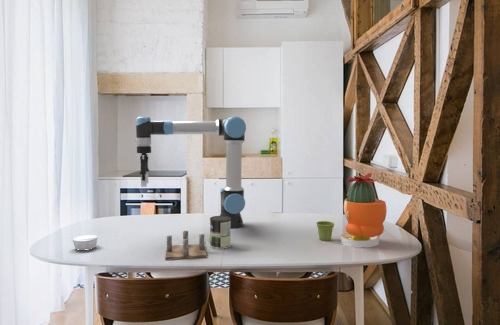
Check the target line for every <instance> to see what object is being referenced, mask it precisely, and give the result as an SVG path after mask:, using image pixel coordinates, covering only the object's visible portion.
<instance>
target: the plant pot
mask: <svg viewBox="0 0 500 325" xmlns="http://www.w3.org/2000/svg"><path fill="white" fill-rule="evenodd" d="M315 224H316V227H317V231H318V232H317V233H318V240H320V241H325V242H327V241H331V240H332V235H333V230H334V226H335V223H334V221H333V222H332V221H328V220H321V221H317V222H316V223H315Z"/></svg>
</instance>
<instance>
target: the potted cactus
mask: <svg viewBox="0 0 500 325" xmlns="http://www.w3.org/2000/svg"><path fill="white" fill-rule="evenodd" d="M372 175H373V174H372V173H369V172H367V173H366V174H365V175H362V176H360V175H358V176H356V175H354V176H351V177H348V179H347V178H346V182H348V183H351V184H350V185H351V186H349V189H347V192H346V193H347V194H346V198H345V199H344V202H343V212H344V216H345V219H346V220H347V224H346V225H345V226H344V227H345V229H344V230H345V231H346V232H344V233H342V234H341V238H340V240H341V242H340V243H341V244H342V245H344V246H345V245H346V247H350V248H356V247H365V248H372V247H376V246H378V245H379V244H380V236H381V235H382V234H383V233H384V230H385V228H384V222H385V220H386V217H387V202H386V201H385V200H382V199H378V198H376V197H377V195H376V192H375V189H374V187H373V183H375V182H376V181H377V179H373V178H372V179H370V178H371V177H372ZM349 238H351V239H349Z"/></svg>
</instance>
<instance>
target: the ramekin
mask: <svg viewBox="0 0 500 325" xmlns="http://www.w3.org/2000/svg"><path fill="white" fill-rule="evenodd" d="M98 239H99V238H98V235H95V234H85V235H78V236H75V237H73V238H72V242H73V247H74V249H75V250H76V249H79V250H85V249H91V248H94V247H95V248H96V247H97V243H98ZM95 248H94V249H95Z"/></svg>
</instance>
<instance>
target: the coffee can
mask: <svg viewBox="0 0 500 325" xmlns="http://www.w3.org/2000/svg"><path fill="white" fill-rule="evenodd" d="M209 227H210V228H209V232H210V233H209V236H210V237H209V240H210V241H209V242H210V245H209V247H210V248H211V249H216V250H223V249H224V248H225V249H228V247H229V248H230V247H232V245H231V241H232V240H231V239H232V238H231V230H232V228H231V217H228V216H220V215H213V216H211V217H209ZM225 249H224V250H225Z"/></svg>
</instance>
